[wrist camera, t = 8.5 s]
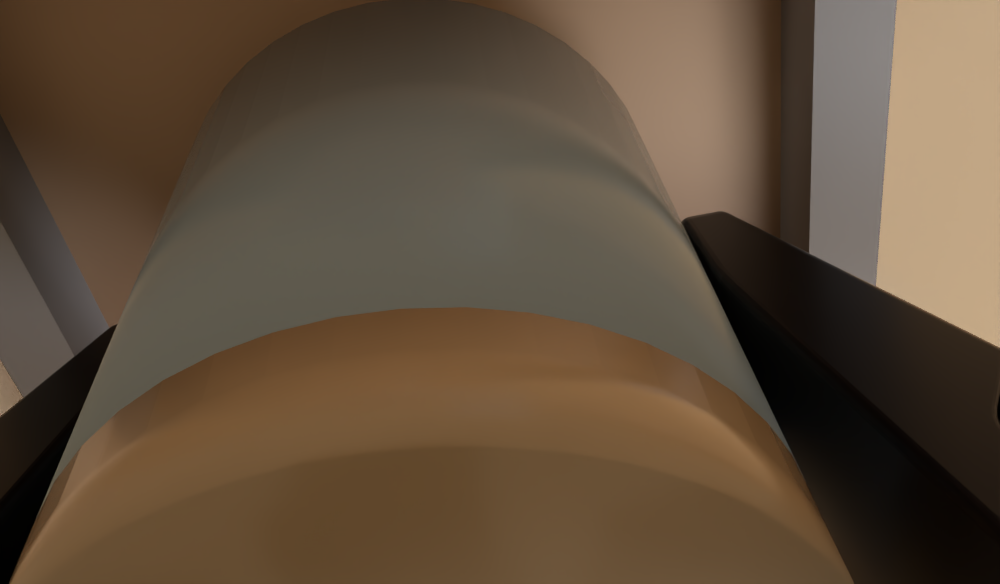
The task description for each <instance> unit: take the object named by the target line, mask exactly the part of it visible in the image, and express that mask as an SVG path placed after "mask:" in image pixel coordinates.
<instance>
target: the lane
mask: <svg viewBox="0 0 1000 584" xmlns="http://www.w3.org/2000/svg"><path fill="white" fill-rule="evenodd" d="M378 1H386V0H0V360H1V361H2V363H3V365H4V366H5V368H6V370H7V371H8V373H9V375H10V376H11V378H12V380H13V381H14V383H15V384H16V386H17V388H18V389H19V391H20V393H21V394H22V396H23V398H24V397H25V396H26V395H28V394H29V393H30V392H31V391H32V390H34V389H35V388H36V387H37V386H39V385H40V384H41V383H42V382H43V381H45V380H46V379H47V378H48V377H50V376H51V375H52V374H53V373H55V372H56V371H57V370H58V369H59V368H61V367H62V366H63V365H64V364H66V363H67V362H68V361H69V360H71V359H72V358H73V357H74V356H75V355H77V354H78V353H79V352H80V351H82V350H83V349H84V348H85V347H86V346H88V345H89V344H90V343H91V342H93V341H94V340H95V339H96V338H98V337H99V336H100V335H101V334H102V333H104V332H105V331H106V330H107V329H109V328H110V327H111V326H113V325H116V324H118V322H119V319H120V317H121V315H122V312H123V310H124V307H125V305H126V303H127V300H128V298H129V296H130V293H131V291H132V288H133V286H134V284H135V281H136V279H137V276H138V274H139V272H140V269H141V267H142V264H143V262H144V260H145V257H146V255H147V253H148V250H149V248H150V245H151V243H152V241H153V238H154V236H155V233H156V231H157V229H158V226H159V224H160V222H161V219H162V217H163V214H164V212H165V210H166V207H167V205H168V202H169V200H170V198H171V195H172V193H173V190H174V188H175V186H176V183H177V181H178V179H179V176H180V174H181V171H182V169H183V167H184V164H185V162H186V159H187V157H188V155H189V152H190V150H191V148H192V145H193V143H194V140H195V138H196V136H197V134H198V132H199V129H200V127H201V125H202V123H203V121H204V119H205V117H206V115H207V113H208V111H209V109H210V108H211V106H212V105H213V103H214V102H215V100H216V99H217V97H218V96H219V95H220V93H221V92H222V90H223V89H224V87H225V86H226V85H227V83H228V82H229V81H230V80H231V79H232V78H233V77H234V76H235V75H236V74H237V73H238V72H239V71H240V70H241V69H242V67H243V66H244V65H245V64H246V63H247V62H248V61H249V60H251V59H252V58H253V57H255V56H256V55H257V54H258V53H260V52H261V51H262V50H263V49H265V48H266V47H267V46H268V45H270V44H271V43H272V42H273V41H275V40H277V39H279V38H280V37H282V36H284V35H285V34H287V33H289V32H291V31H292V30H294V29H296V28H297V27H299V26H301V25H303V24H305V23H308V22H310V21H312V20H315V19H317V18H320V17H322V16H324V15H327V14H329V13H332V12H334V11H338V10H342V9H346V8H350V7H353V6H357V5H361V4H365V3H370V2H378ZM452 1H459V2H466V3H473V4H477V5H480V6H484V7H487V8H491V9H495V10H498V11H502V12H506V13H508V14H510V15H513V16H515V17H517V18H520V19H522V20H525V21H527V22H529V23H532V24H534V25H536V26H538V27H540V28H541V29H543V30H545V31H546V32H548V33H550V34H551V35H553V36H555V37H557V38H558V39H560V40H562V41H563V42H565V43H566V44H567V45H569V46H570V47H571V48H572V49H574V50H575V51H576V52H577V53H579V54H580V55H581V56H582V57H584V58H585V59H586V60H587V61H589V62H590V63H591V64H592V66H593V67H594V68H595V69H596V70H597V71H598V72H599V73H600V74H601V75H602V76H603V77H604V78H605V79H606V80H607V81H608V83H609V84H610V85H611V86H612V88H613V89H614V91H615V92H616V93H617V95H618V96H619V98H620V99H621V101H622V102H623V103H624V105H625V106H626V108H627V110H628V112H629V114H630V116H631V118H632V120H633V122H634V124H635V126H636V128H637V130H638V132H639V134H640V136H641V138H642V140H643V142H644V144H645V146H646V148H647V151H648V153H649V155H650V157H651V159H652V161H653V163H654V165H655V167H656V169H657V171H658V174H659V176H660V178H661V180H662V182H663V184H664V186H665V188H666V190H667V192H668V194H669V197H670V199H671V201H672V203H673V205H674V207H675V209H676V211H677V213H678V215H679V217H680V220H681V222H682V220H683V219H685V218H687V217H690V216H696V215H701V214H706V213H711V212H717V211H724V212H727V213H729V214H731V215H733V216H735V217H737V218H739V219H741V220H743V221H745V222H747V223H749V224H751V225H753V226H755V227H757V228H759V229H761V230H763V231H765V232H767V233H769V234H771V235H773V236H775V237H778V238H780V239H782V240H784V241H786V242H788V243H790V244H792V245H794V246H796V247H798V248H800V249H802V250H804V251H806V252H808V253H810V254H812V255H814V256H816V257H818V258H820V259H822V260H824V261H826V262H828V263H830V264H832V265H834V266H836V267H838V268H840V269H842V270H844V271H846V272H848V273H850V274H852V275H854V276H856V277H858V278H860V279H862V280H864V281H866V282H868V283H870V284H872V285H874V286H876V275H877V262H878V248H879V234H880V221H881V207H882V193H883V180H884V166H885V153H886V139H887V125H888V112H889V98H890V85H891V71H892V57H893V44H894V30H895V16H896V3H897V0H452Z"/></svg>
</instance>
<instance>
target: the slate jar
mask: <svg viewBox="0 0 1000 584" xmlns="http://www.w3.org/2000/svg"><path fill="white" fill-rule="evenodd" d="M9 584H854V582H853V580H852V577H851V575H850V573H849V571H848V569H847V567H846V565H845V563H844V561H843V559H842V556H841V554H840V552H839V550H838V548H837V546H836V544H835V542H834V540H833V538H832V536H831V533H830V531H829V529H828V527H827V525H826V523H825V521H824V519H823V517H822V515H821V513H820V510H819V508H818V506H817V504H816V502H815V500H814V498H813V496H812V494H811V492H810V490H809V487H808V485H807V483H806V481H805V479H804V477H803V475H802V473H801V471H800V469H799V467H798V464H797V462H796V460H795V458H794V456H793V454H792V452H791V450H790V448H789V446H788V443H787V441H786V439H785V437H784V435H783V433H782V431H781V429H780V427H779V425H778V423H777V420H776V418H775V416H774V414H773V412H772V410H771V408H770V406H769V404H768V402H767V400H766V397H765V395H764V393H763V391H762V389H761V387H760V385H759V383H758V381H757V379H756V377H755V374H754V372H753V370H752V368H751V366H750V364H749V362H748V360H747V358H746V356H745V354H744V351H743V349H742V347H741V345H740V343H739V341H738V339H737V337H736V335H735V333H734V330H733V328H732V326H731V324H730V322H729V320H728V318H727V316H726V314H725V312H724V310H723V307H722V305H721V303H720V301H719V299H718V297H717V295H716V293H715V291H714V289H713V287H712V284H711V282H710V280H709V278H708V276H707V274H706V272H705V270H704V268H703V266H702V264H701V261H700V259H699V257H698V255H697V253H696V251H695V249H694V247H693V245H692V243H691V241H690V238H689V236H688V234H687V232H686V230H685V228H684V226H683V224H682V222H681V220H680V217H679V215H678V213H677V211H676V209H675V207H674V205H673V203H672V201H671V199H670V197H669V194H668V192H667V190H666V188H665V186H664V184H663V182H662V180H661V178H660V176H659V174H658V171H657V169H656V167H655V165H654V163H653V161H652V159H651V157H650V155H649V153H648V151H647V148H646V146H645V144H644V142H643V140H642V138H641V136H640V134H639V132H638V130H637V128H636V126H635V124H634V122H633V120H632V118H631V116H630V114H629V112H628V110H627V108H626V106H625V105H624V103H623V102H622V101H621V99H620V98H619V96H618V95H617V93H616V92H615V91H614V89H613V88H612V86H611V85H610V84H609V83H608V81H607V80H606V79H605V78H604V77H603V76H602V75H601V74H600V73H599V72H598V71H597V70H596V69H595V68H594V67H593V66H592V64H591V63H590V62H589V61H587V60H586V59H585V58H584V57H582V56H581V55H580V54H579V53H577V52H576V51H575V50H574V49H572V48H571V47H570V46H569V45H567V44H566V43H565V42H563V41H562V40H560V39H558V38H557V37H555V36H553V35H551V34H550V33H548V32H546V31H545V30H543V29H541V28H540V27H538V26H536V25H534V24H532V23H529V22H527V21H525V20H522V19H520V18H517V17H515V16H513V15H510V14H508V13H506V12H502V11H498V10H495V9H491V8H487V7H484V6H480V5H477V4H473V3H466V2H459V1H452V0H386V1H378V2H370V3H365V4H361V5H357V6H353V7H350V8H346V9H342V10H338V11H334V12H332V13H329V14H327V15H324V16H322V17H320V18H317V19H315V20H312V21H310V22H308V23H305V24H303V25H301V26H299V27H297V28H296V29H294V30H292V31H291V32H289V33H287V34H285V35H284V36H282V37H280V38H279V39H277V40H275V41H273V42H272V43H271V44H270V45H268V46H267V47H266V48H265V49H263V50H262V51H261V52H260V53H258V54H257V55H256V56H255V57H253V58H252V59H251V60H249V61H248V62H247V63H246V64H245V65H244V66H243V67H242V69H241V70H240V71H239V72H238V73H237V74H236V75H235V76H234V77H233V78H232V79H231V80H230V81H229V82H228V83H227V85H226V86H225V87H224V89H223V90H222V92H221V93H220V95H219V96H218V97H217V99H216V100H215V102H214V103H213V105H212V106H211V108H210V109H209V111H208V113H207V115H206V117H205V119H204V121H203V123H202V125H201V127H200V129H199V132H198V134H197V136H196V138H195V140H194V143H193V145H192V148H191V150H190V152H189V155H188V157H187V159H186V162H185V164H184V167H183V169H182V171H181V174H180V176H179V179H178V181H177V183H176V186H175V188H174V190H173V193H172V195H171V198H170V200H169V202H168V205H167V207H166V210H165V212H164V214H163V217H162V219H161V222H160V224H159V226H158V229H157V231H156V233H155V236H154V238H153V241H152V243H151V245H150V248H149V250H148V253H147V255H146V257H145V260H144V262H143V264H142V267H141V269H140V272H139V274H138V276H137V279H136V281H135V284H134V286H133V288H132V291H131V293H130V296H129V298H128V300H127V303H126V305H125V307H124V310H123V312H122V315H121V317H120V319H119V322H118V324H117V327H116V329H115V331H114V334H113V336H112V338H111V341H110V343H109V346H108V348H107V350H106V353H105V355H104V358H103V360H102V362H101V365H100V367H99V370H98V372H97V374H96V377H95V379H94V381H93V384H92V386H91V389H90V391H89V393H88V396H87V398H86V401H85V403H84V405H83V408H82V410H81V412H80V415H79V417H78V420H77V422H76V424H75V427H74V429H73V432H72V434H71V436H70V439H69V441H68V444H67V446H66V448H65V451H64V453H63V455H62V458H61V460H60V463H59V465H58V467H57V470H56V472H55V475H54V477H53V479H52V482H51V484H50V486H49V489H48V491H47V494H46V496H45V498H44V501H43V503H42V506H41V508H40V510H39V513H38V515H37V518H36V520H35V522H34V525H33V527H32V529H31V532H30V534H29V537H28V539H27V541H26V544H25V546H24V549H23V551H22V553H21V556H20V558H19V560H18V563H17V565H16V568H15V570H14V572H13V575H12V577H11V580H10V582H9Z"/></svg>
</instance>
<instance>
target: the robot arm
mask: <svg viewBox="0 0 1000 584" xmlns="http://www.w3.org/2000/svg"><path fill="white" fill-rule="evenodd" d="M682 224H683V226H684V228H685V230H686V232H687V234H688V236H689V238H690V241H691V243H692V245H693V247H694V249H695V251H696V253H697V255H698V257H699V259H700V261H701V264H702V266H703V268H704V270H705V272H706V274H707V276H708V278H709V280H710V282H711V284H712V287H713V289H714V291H715V293H716V295H717V297H718V299H719V301H720V303H721V305H722V307H723V310H724V312H725V314H726V316H727V318H728V320H729V322H730V324H731V326H732V328H733V330H734V333H735V335H736V337H737V339H738V341H739V343H740V345H741V347H742V349H743V351H744V354H745V356H746V358H747V360H748V362H749V364H750V366H751V368H752V370H753V372H754V374H755V377H756V379H757V381H758V383H759V385H760V387H761V389H762V391H763V393H764V395H765V397H766V400H767V402H768V404H769V406H770V408H771V410H772V412H773V414H774V416H775V418H776V420H777V423H778V425H779V427H780V429H781V431H782V433H783V435H784V437H785V439H786V441H787V443H788V446H789V448H790V450H791V452H792V454H793V456H794V458H795V460H796V462H797V464H798V467H799V469H800V471H801V473H802V475H803V477H804V479H805V481H806V483H807V485H808V487H809V490H810V492H811V494H812V496H813V498H814V500H815V502H816V504H817V506H818V508H819V510H820V513H821V515H822V517H823V519H824V521H825V523H826V525H827V527H828V529H829V531H830V533H831V536H832V538H833V540H834V542H835V544H836V546H837V548H838V550H839V552H840V554H841V556H842V559H843V561H844V563H845V565H846V567H847V569H848V571H849V573H850V575H851V577H852V580H853V582H854V584H1000V348H999V347H997V346H995V345H993V344H991V343H989V342H987V341H985V340H983V339H981V338H979V337H977V336H975V335H973V334H971V333H969V332H967V331H965V330H963V329H961V328H959V327H957V326H955V325H953V324H951V323H949V322H947V321H945V320H943V319H941V318H939V317H937V316H935V315H933V314H931V313H929V312H927V311H925V310H923V309H921V308H919V307H917V306H915V305H913V304H911V303H909V302H907V301H904V300H902V299H900V298H898V297H896V296H894V295H892V294H890V293H888V292H886V291H884V290H882V289H880V288H878V287H876V286H874V285H872V284H870V283H868V282H866V281H864V280H862V279H860V278H858V277H856V276H854V275H852V274H850V273H848V272H846V271H844V270H842V269H840V268H838V267H836V266H834V265H832V264H830V263H828V262H826V261H824V260H822V259H820V258H818V257H816V256H814V255H812V254H810V253H808V252H806V251H804V250H802V249H800V248H798V247H796V246H794V245H792V244H790V243H788V242H786V241H784V240H782V239H780V238H778V237H775V236H773V235H771V234H769V233H767V232H765V231H763V230H761V229H759V228H757V227H755V226H753V225H751V224H749V223H747V222H745V221H743V220H741V219H739V218H737V217H735V216H733V215H731V214H729V213H727V212H724V211H717V212H711V213H706V214H701V215H696V216H690V217H687V218H685V219H683V220H682ZM116 327H117V324H116V325H113V326H111V327H110V328H109V329H107V330H106V331H105V332H104V333H102V334H101V335H100V336H99V337H98V338H96V339H95V340H94V341H93V342H91V343H90V344H89V345H88V346H86V347H85V348H84V349H83V350H82V351H80V352H79V353H78V354H77V355H75V356H74V357H73V358H72V359H71V360H69V361H68V362H67V363H66V364H64V365H63V366H62V367H61V368H59V369H58V370H57V371H56V372H55V373H53V374H52V375H51V376H50V377H48V378H47V379H46V380H45V381H43V382H42V383H41V384H40V385H39V386H37V387H36V388H35V389H34V390H32V391H31V392H30V393H29V394H28V395H26V396H25V397H24V398H23V399H21V400H20V401H19V402H18V403H16V404H15V405H14V406H13V407H12V408H10V409H9V410H8V411H7V412H5V413H4V414H3V415H2V416H1V417H0V584H9V582H10V580H11V577H12V575H13V572H14V570H15V568H16V565H17V563H18V560H19V558H20V556H21V553H22V551H23V549H24V546H25V544H26V541H27V539H28V537H29V534H30V532H31V529H32V527H33V525H34V522H35V520H36V518H37V515H38V513H39V510H40V508H41V506H42V503H43V501H44V498H45V496H46V494H47V491H48V489H49V486H50V484H51V482H52V479H53V477H54V475H55V472H56V470H57V467H58V465H59V463H60V460H61V458H62V455H63V453H64V451H65V448H66V446H67V444H68V441H69V439H70V436H71V434H72V432H73V429H74V427H75V424H76V422H77V420H78V417H79V415H80V412H81V410H82V408H83V405H84V403H85V401H86V398H87V396H88V393H89V391H90V389H91V386H92V384H93V381H94V379H95V377H96V374H97V372H98V370H99V367H100V365H101V362H102V360H103V358H104V355H105V353H106V350H107V348H108V346H109V343H110V341H111V338H112V336H113V334H114V331H115V329H116Z"/></svg>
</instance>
